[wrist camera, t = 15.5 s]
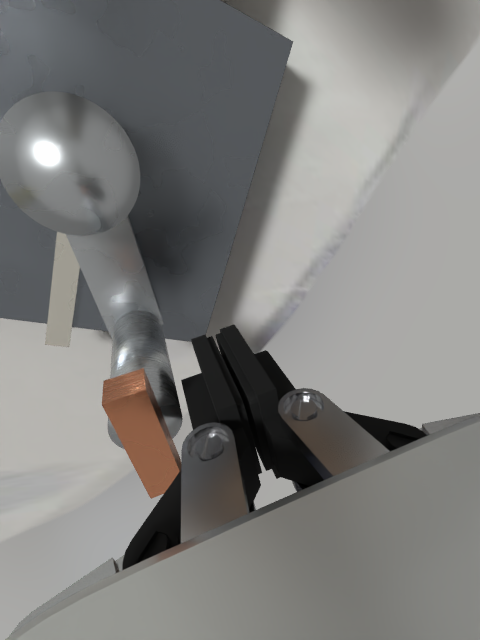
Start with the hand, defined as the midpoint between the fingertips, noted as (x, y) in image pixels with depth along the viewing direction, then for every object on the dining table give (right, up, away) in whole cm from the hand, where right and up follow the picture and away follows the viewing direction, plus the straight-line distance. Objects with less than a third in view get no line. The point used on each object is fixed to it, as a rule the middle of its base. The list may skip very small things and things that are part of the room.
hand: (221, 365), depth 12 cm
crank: (-5, +5, +2) cm, 7 cm away
